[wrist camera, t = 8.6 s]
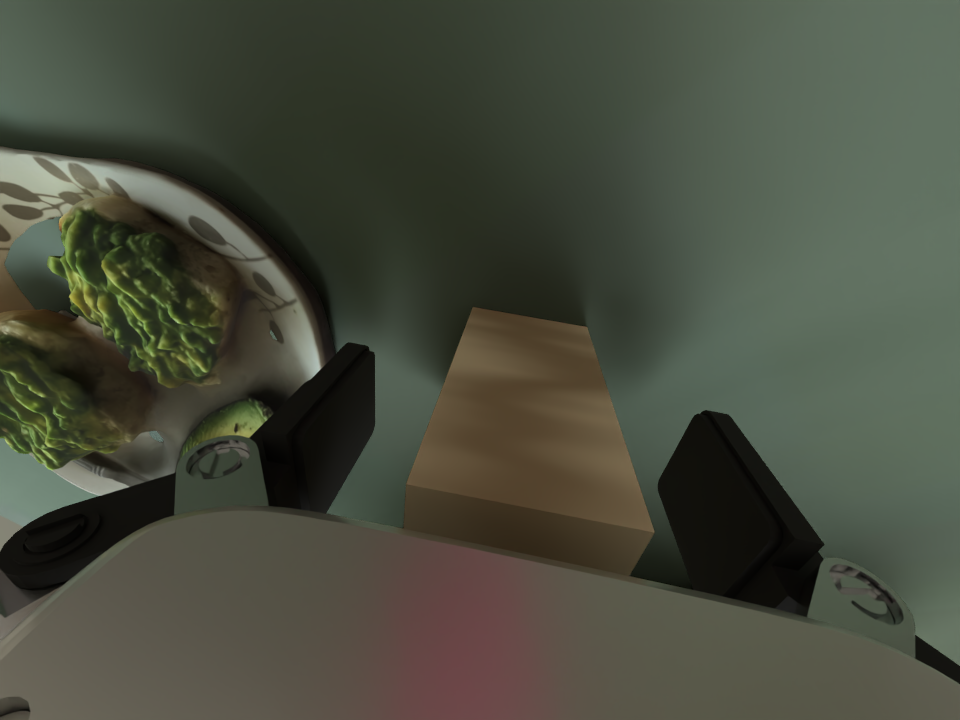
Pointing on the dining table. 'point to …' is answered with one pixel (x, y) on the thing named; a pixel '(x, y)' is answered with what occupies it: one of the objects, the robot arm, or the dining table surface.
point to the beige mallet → (529, 450)
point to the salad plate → (145, 321)
